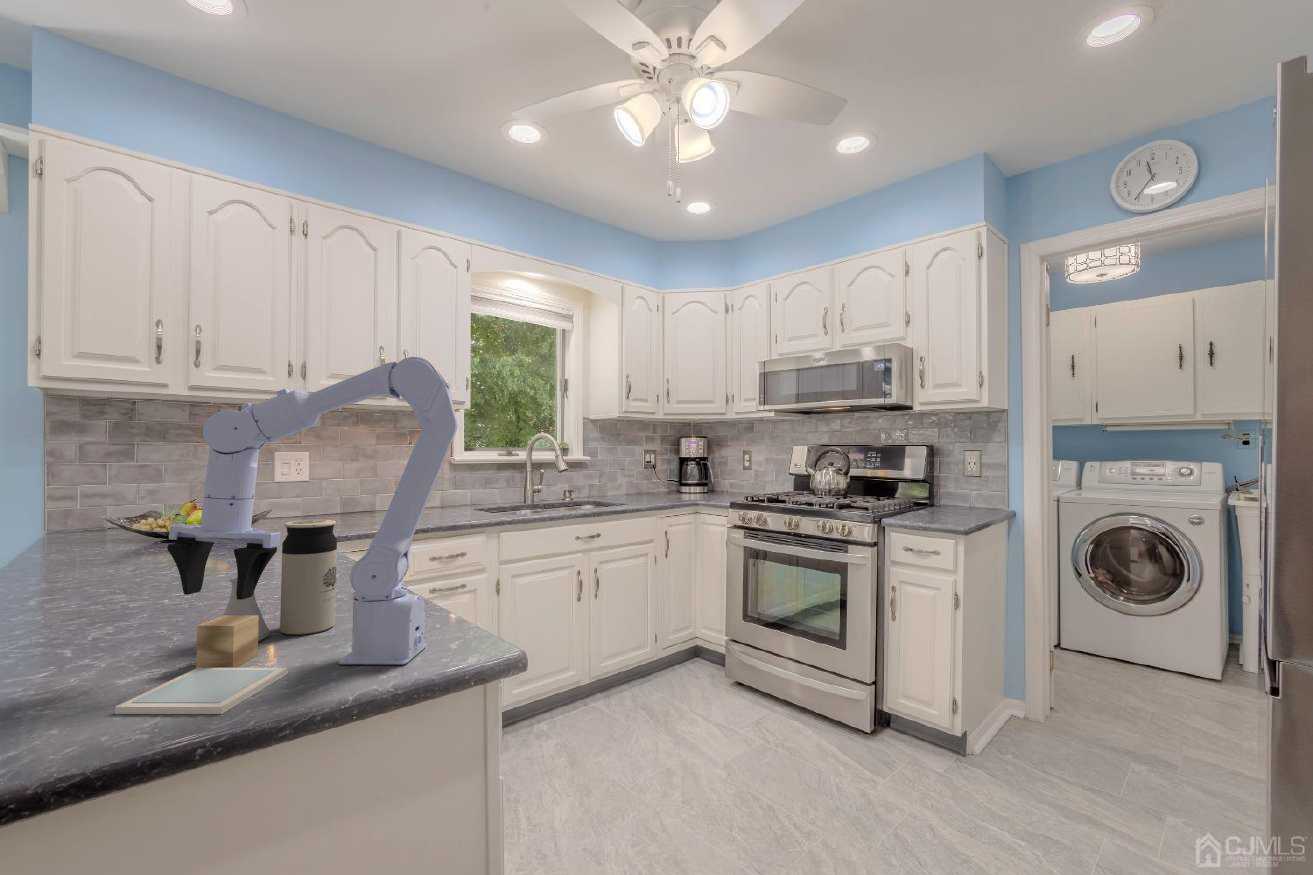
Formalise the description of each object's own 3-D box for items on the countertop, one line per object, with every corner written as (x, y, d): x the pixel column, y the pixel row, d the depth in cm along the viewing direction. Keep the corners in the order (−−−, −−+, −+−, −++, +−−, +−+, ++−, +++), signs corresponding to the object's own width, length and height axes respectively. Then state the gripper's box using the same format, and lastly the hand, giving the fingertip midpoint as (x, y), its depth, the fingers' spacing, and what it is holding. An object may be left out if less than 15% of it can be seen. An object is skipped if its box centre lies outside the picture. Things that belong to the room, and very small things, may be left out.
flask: (239, 649, 87) (241, 583, 87) (199, 646, 88) (202, 580, 88) (279, 635, 94) (281, 573, 94) (242, 632, 95) (244, 571, 96)
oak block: (257, 656, 84) (258, 615, 84) (232, 669, 79) (234, 625, 79) (222, 656, 84) (224, 615, 84) (195, 669, 79) (197, 625, 79)
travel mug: (267, 634, 94) (271, 523, 95) (307, 620, 102) (309, 518, 102) (308, 637, 92) (311, 525, 93) (345, 623, 100) (348, 520, 101)
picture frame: (287, 673, 77) (287, 666, 77) (221, 713, 65) (222, 705, 65) (197, 673, 77) (197, 666, 77) (114, 713, 65) (115, 705, 65)
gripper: (153, 494, 77) (141, 597, 76) (258, 503, 76) (246, 607, 75) (198, 492, 84) (187, 586, 83) (294, 500, 83) (283, 595, 82)
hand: (218, 595), depth 80 cm, fingers open, 7 cm apart
